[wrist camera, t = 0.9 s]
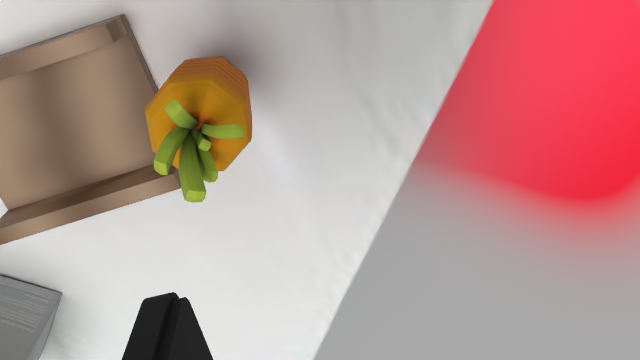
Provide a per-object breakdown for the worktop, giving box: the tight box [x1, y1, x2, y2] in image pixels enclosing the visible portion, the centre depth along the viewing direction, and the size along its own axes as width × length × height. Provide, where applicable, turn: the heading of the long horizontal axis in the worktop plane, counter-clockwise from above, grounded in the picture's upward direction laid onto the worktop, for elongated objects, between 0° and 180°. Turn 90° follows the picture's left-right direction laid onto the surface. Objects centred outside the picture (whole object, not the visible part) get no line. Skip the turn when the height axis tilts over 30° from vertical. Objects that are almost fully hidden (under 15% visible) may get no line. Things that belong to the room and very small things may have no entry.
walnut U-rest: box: [0, 14, 181, 245], centre depth 34 cm, size 12×10×4 cm
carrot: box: [145, 56, 252, 203], centre depth 28 cm, size 5×5×15 cm
